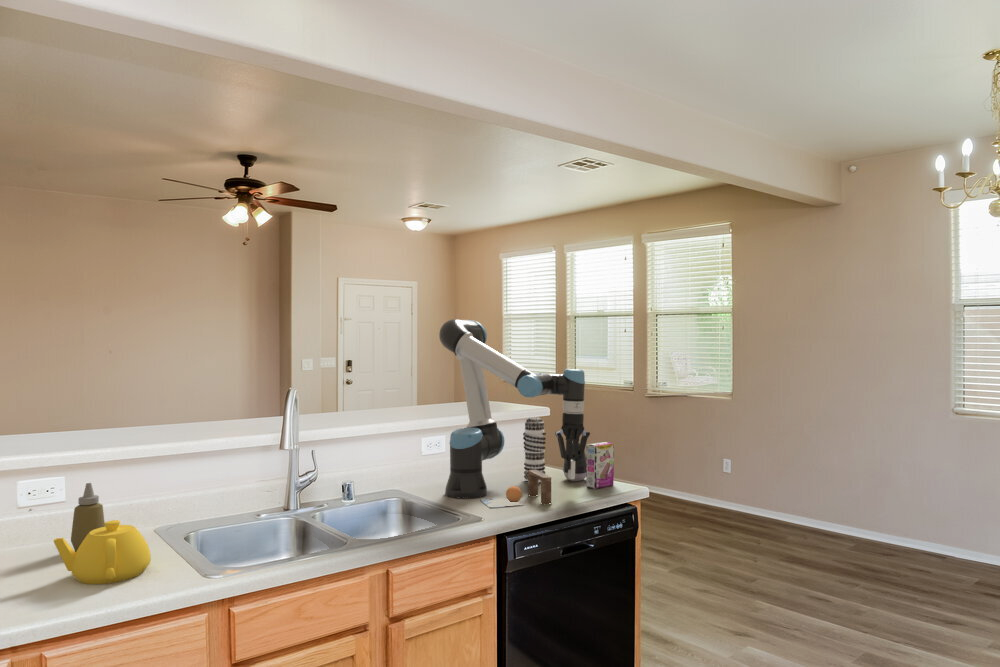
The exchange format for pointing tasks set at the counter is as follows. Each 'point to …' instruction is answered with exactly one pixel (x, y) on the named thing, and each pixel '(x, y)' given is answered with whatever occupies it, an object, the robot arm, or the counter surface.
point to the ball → (513, 494)
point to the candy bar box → (600, 465)
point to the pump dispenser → (581, 468)
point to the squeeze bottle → (86, 516)
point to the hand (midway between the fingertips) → (571, 478)
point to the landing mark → (488, 502)
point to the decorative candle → (534, 445)
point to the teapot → (107, 554)
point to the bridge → (545, 485)
